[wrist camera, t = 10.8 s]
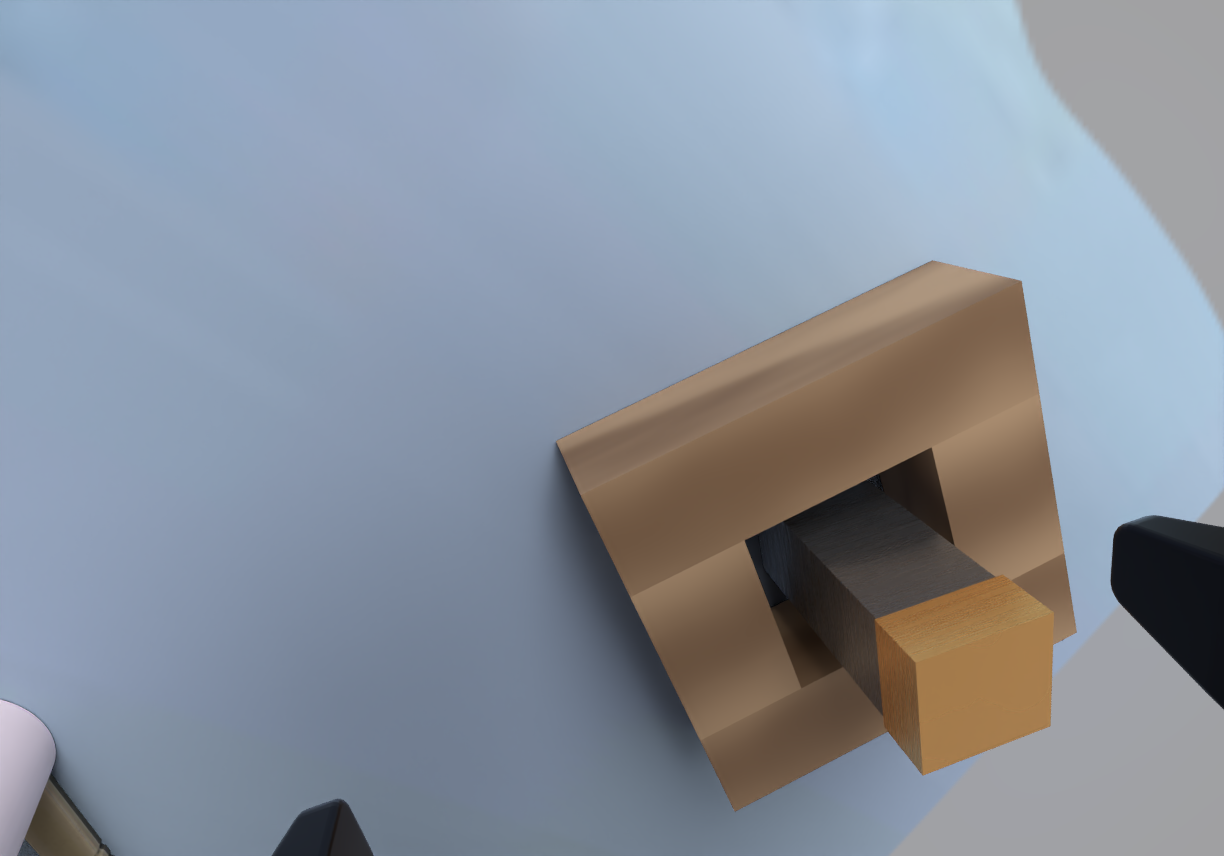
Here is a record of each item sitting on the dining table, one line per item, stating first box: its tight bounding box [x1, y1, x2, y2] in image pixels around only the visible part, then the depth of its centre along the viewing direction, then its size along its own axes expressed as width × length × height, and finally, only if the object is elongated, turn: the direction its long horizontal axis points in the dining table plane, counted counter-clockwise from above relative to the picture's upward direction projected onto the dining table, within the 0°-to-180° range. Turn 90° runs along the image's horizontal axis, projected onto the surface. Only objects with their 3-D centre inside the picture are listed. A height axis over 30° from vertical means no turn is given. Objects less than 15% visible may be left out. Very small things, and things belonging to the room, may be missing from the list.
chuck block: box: [556, 261, 1077, 811], centre depth 22 cm, size 12×12×4 cm
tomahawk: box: [24, 773, 114, 856], centre depth 21 cm, size 21×7×1 cm, turn 13°
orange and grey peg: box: [758, 480, 1054, 775], centre depth 20 cm, size 3×3×8 cm
